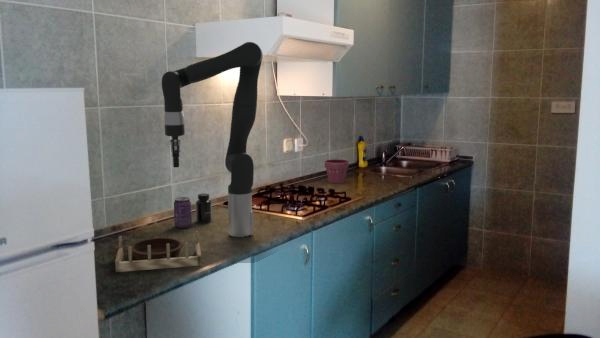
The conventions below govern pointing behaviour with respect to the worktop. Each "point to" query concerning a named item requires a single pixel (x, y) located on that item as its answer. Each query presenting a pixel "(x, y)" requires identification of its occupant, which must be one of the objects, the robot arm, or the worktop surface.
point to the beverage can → (182, 212)
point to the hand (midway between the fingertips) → (176, 166)
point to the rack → (157, 263)
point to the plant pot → (336, 170)
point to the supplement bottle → (203, 209)
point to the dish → (156, 248)
